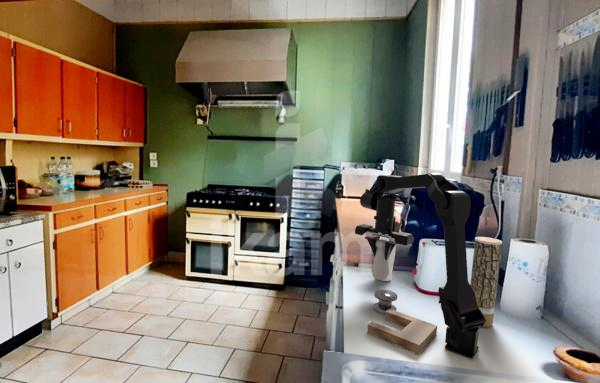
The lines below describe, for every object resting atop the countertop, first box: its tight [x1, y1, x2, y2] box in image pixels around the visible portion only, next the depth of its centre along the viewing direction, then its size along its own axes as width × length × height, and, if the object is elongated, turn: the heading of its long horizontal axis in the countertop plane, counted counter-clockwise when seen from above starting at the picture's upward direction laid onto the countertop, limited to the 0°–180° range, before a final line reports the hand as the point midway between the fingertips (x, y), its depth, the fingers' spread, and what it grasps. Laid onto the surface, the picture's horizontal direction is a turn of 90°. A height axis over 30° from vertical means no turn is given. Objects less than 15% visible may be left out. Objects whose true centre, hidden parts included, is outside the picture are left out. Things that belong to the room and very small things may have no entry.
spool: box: [372, 289, 398, 315], centre depth 104 cm, size 7×7×5 cm
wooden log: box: [469, 236, 503, 328], centre depth 98 cm, size 7×7×25 cm
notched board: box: [366, 309, 438, 356], centre depth 90 cm, size 14×13×2 cm
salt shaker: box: [371, 239, 389, 281], centre depth 112 cm, size 6×6×13 cm
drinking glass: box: [380, 239, 397, 282], centre depth 129 cm, size 7×7×15 cm
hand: (381, 259), depth 112 cm, fingers closed on salt shaker, 3 cm apart
